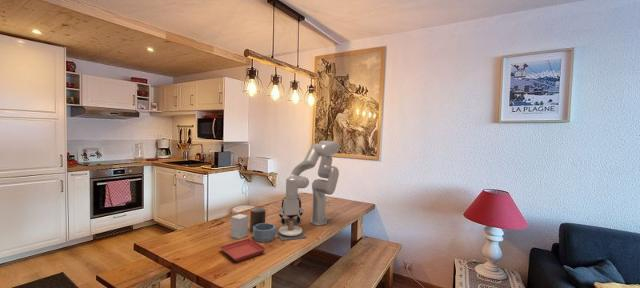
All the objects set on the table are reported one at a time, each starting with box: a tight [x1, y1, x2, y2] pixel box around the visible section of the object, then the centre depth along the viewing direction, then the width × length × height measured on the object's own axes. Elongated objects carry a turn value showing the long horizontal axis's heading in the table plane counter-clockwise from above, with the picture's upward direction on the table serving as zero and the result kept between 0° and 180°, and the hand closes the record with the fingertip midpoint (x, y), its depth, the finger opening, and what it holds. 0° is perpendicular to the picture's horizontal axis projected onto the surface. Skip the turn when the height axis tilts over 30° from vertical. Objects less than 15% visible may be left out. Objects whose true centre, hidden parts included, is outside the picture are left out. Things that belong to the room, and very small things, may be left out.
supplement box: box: [230, 213, 249, 240], centre depth 164 cm, size 7×7×13 cm
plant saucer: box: [219, 238, 266, 262], centre depth 143 cm, size 18×18×3 cm
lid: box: [278, 220, 303, 236], centre depth 171 cm, size 15×15×8 cm
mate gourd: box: [281, 196, 302, 226], centre depth 193 cm, size 16×14×20 cm
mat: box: [276, 227, 308, 242], centre depth 172 cm, size 16×20×1 cm
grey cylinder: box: [249, 207, 266, 233], centre depth 175 cm, size 10×10×15 cm
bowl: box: [252, 222, 277, 243], centre depth 163 cm, size 13×13×7 cm
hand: (290, 223), depth 171 cm, fingers open, 9 cm apart
